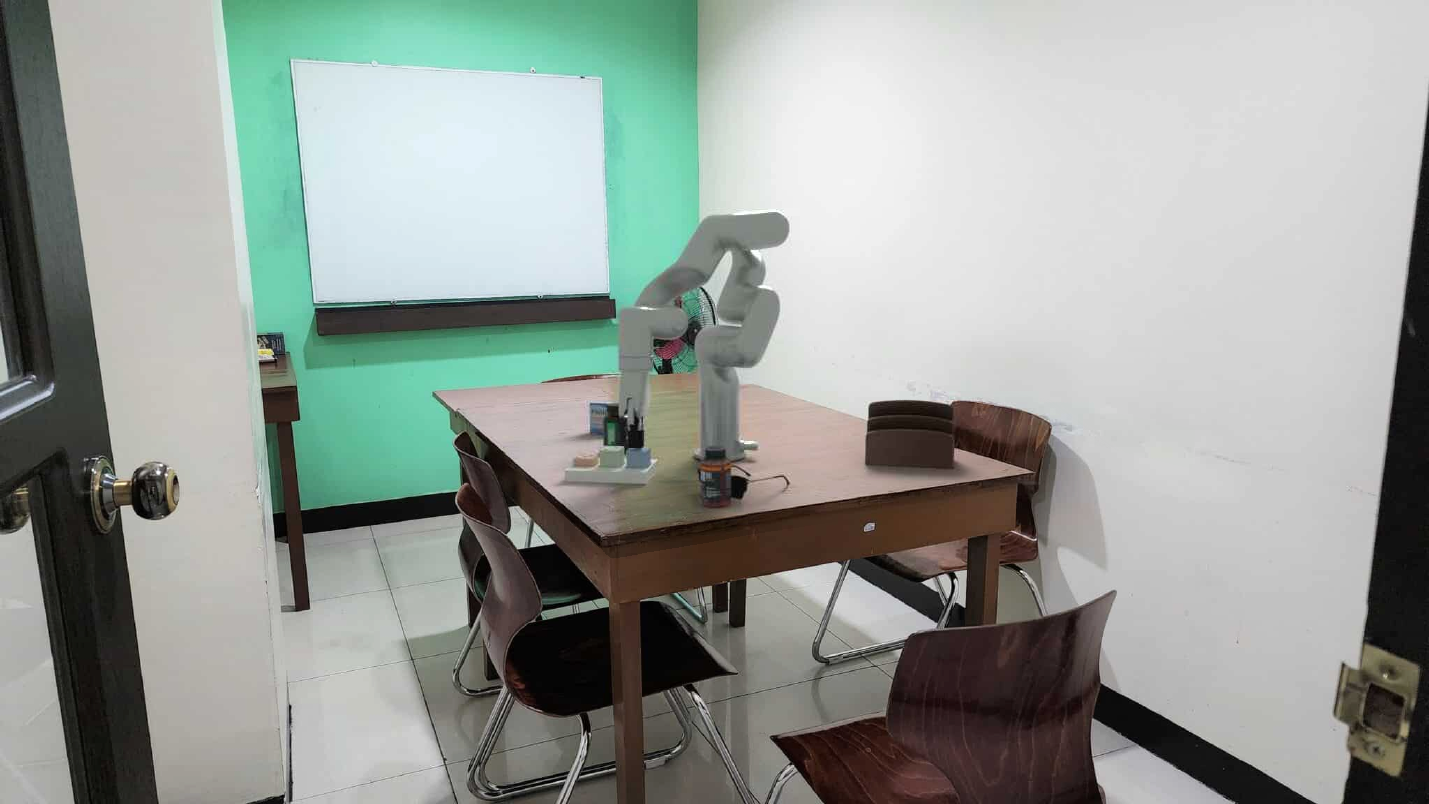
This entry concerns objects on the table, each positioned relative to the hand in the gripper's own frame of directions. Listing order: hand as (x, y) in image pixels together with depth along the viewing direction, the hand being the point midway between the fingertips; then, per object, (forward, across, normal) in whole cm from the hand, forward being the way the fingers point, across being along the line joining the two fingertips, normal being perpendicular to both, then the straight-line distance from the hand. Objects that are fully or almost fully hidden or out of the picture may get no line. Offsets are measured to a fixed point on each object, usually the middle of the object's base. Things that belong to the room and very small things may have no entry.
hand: (636, 447), depth 189 cm
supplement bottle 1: (+6, -24, -10) cm, 27 cm away
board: (+7, -1, -6) cm, 9 cm away
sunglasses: (+7, +5, +25) cm, 26 cm away
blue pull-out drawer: (+4, -1, 0) cm, 4 cm away
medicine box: (+6, -46, -20) cm, 50 cm away
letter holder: (+6, -21, +60) cm, 64 cm away
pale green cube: (+4, -1, -6) cm, 7 cm away
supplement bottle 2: (+7, +18, +20) cm, 28 cm away
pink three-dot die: (+7, -1, -12) cm, 13 cm away
